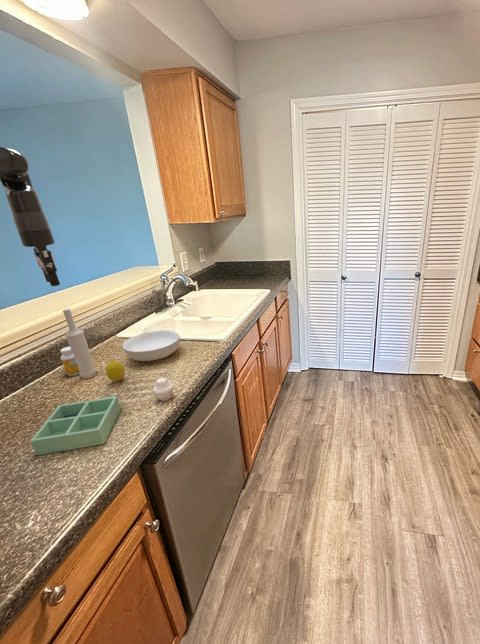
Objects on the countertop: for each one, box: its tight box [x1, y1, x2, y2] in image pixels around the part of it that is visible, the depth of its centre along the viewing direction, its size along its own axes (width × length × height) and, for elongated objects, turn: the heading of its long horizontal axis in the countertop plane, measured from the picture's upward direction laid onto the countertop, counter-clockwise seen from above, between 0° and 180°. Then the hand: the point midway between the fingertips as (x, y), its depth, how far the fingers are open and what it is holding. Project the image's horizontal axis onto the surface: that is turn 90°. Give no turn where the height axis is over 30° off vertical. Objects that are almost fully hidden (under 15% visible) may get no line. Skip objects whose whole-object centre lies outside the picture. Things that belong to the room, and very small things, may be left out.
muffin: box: [152, 377, 175, 402], centre depth 99 cm, size 6×6×7 cm
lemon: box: [105, 360, 126, 382], centre depth 110 cm, size 6×6×8 cm
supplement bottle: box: [60, 346, 80, 377], centre depth 117 cm, size 5×5×10 cm
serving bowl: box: [122, 329, 181, 362], centre depth 128 cm, size 21×21×7 cm
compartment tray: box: [29, 396, 122, 456], centre depth 87 cm, size 15×15×4 cm
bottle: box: [62, 308, 98, 380], centre depth 112 cm, size 5×5×25 cm
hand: (53, 283), depth 99 cm, fingers open, 8 cm apart
